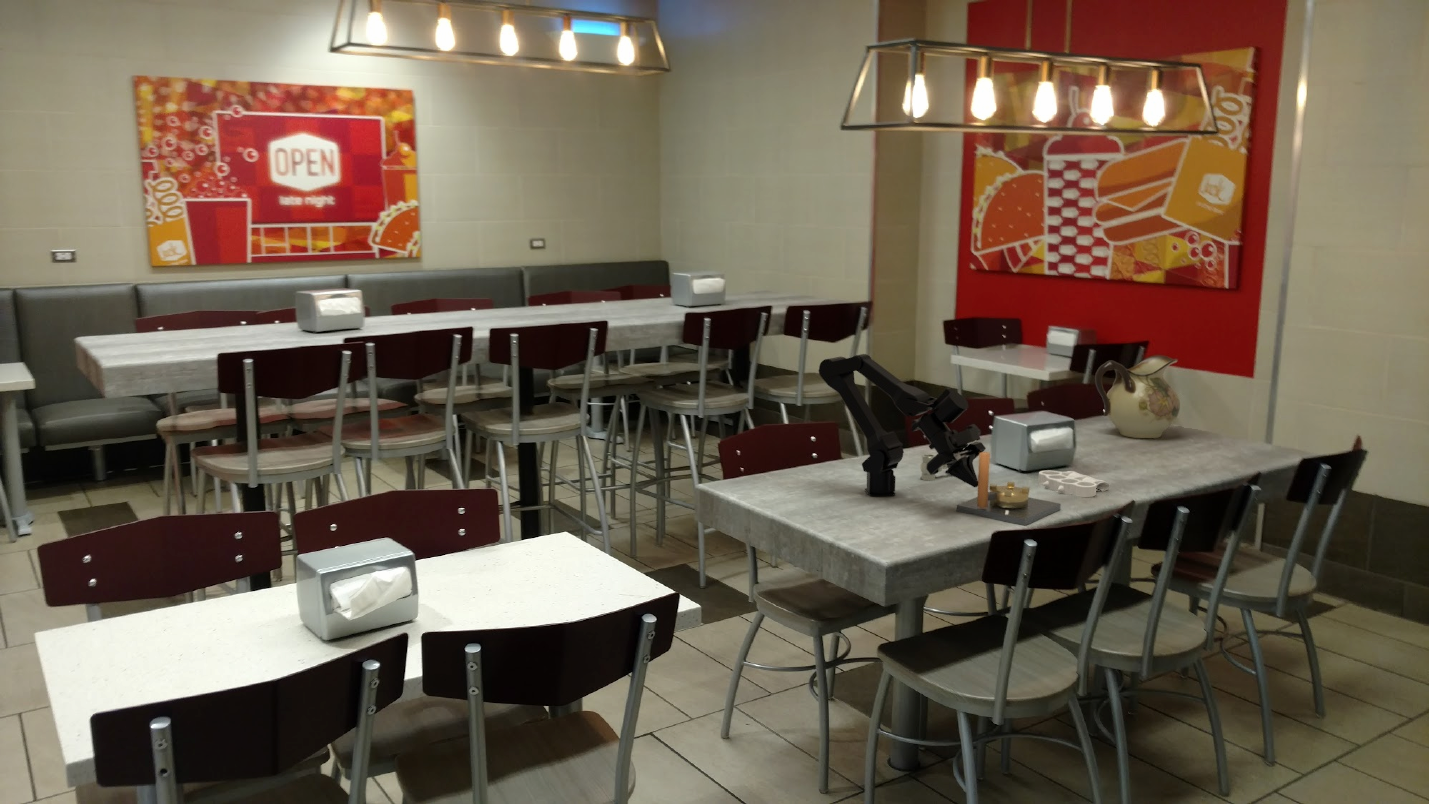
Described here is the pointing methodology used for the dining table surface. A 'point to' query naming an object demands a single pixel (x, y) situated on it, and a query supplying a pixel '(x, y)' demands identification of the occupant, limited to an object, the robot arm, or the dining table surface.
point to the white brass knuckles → (1071, 483)
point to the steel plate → (1011, 511)
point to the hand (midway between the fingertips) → (977, 486)
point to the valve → (925, 473)
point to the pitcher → (1140, 397)
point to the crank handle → (998, 489)
